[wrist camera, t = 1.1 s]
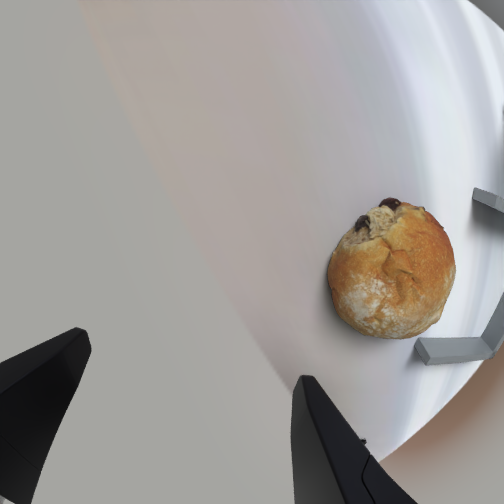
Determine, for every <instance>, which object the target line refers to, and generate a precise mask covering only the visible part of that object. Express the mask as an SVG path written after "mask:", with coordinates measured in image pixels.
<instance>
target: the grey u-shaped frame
mask: <svg viewBox="0 0 504 504" xmlns="http://www.w3.org/2000/svg"><path fill="white" fill-rule="evenodd" d="M472 199H474V200H477V201H479V202H481V203H483V204H485V205H487V206H490V207H492V208H494V209H496V210H498V211H500V212H502V213H504V199H503V198H501V197H499V196H497V195H495V194H492V193H490V192H487V191H484V190H481V189H478V188H474V193H473V197H472ZM503 341H504V293H503V295H502V298H501V300H500V302H499V304H498V306H497V308H496V310H495V312H494V314H493V316H492V318H491V320H490V322H489V324H488V326H487V327H486V329H485V331H484V333H483V334H482V336H481V337H468V338H418V340H417V342H416V343H415V345H414V346H415V348H416V349H417V351H418V353H419V355H420V356H421V358H422V360H423V362H424V364H425V365H440V364H451V363H461V362H469V361H477V360H484V359H491V358H493V357H494V355H495V354H496V352H497V350H498V349H499V347H500V346H501V344H502V343H503Z"/></svg>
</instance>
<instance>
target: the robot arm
mask: <svg viewBox="0 0 504 504" xmlns="http://www.w3.org/2000/svg"><path fill="white" fill-rule="evenodd" d="M90 354H91V344H90V341H89V337H88V333H87V332H86V330H84V329H81V328H77V327H75V328H73V329H71V330H69V331H67V332H65V333H62V334H60V335H58V336H56V337H54V338H52V339H50V340H47V341H45V342H43V343H41V344H39V345H37V346H35V347H33V348H30V349H28V350H26V351H24V352H22V353H20V354H18V355H16V356H14V357H11V358H9V359H7V360H5V361H3V362H1V363H0V504H3V502H4V500H5V498H6V499H8V500H9V501H11V502H13V503H15V504H31V502H32V498H33V495H34V492H35V489H36V486H37V483H38V480H39V477H40V474H41V471H42V468H43V465H44V463H45V460H46V457H47V455H48V452H49V450H50V447H51V445H52V442H53V440H54V437H55V435H56V433H57V430H58V428H59V426H60V424H61V421H62V419H63V417H64V415H65V413H66V410H67V408H68V406H69V404H70V402H71V400H72V398H73V396H74V394H75V392H76V389H77V387H78V385H79V383H80V380H81V377H82V375H83V372H84V369H85V367H86V364H87V362H88V359H89V357H90ZM366 443H367V442H366V440H360V438H359V437H358V436H357V434H356V433H355V432H354V430H353V429H352V428H351V426H350V425H349V424H348V422H347V421H346V420H345V418H344V417H343V416H342V414H341V413H340V412H339V410H338V409H337V408H336V406H335V405H334V403H333V402H332V401H331V399H330V398H329V397H328V395H327V394H326V392H325V391H324V390H323V388H322V387H321V386H320V384H319V383H318V381H317V380H316V379H315V377H314V376H311V375H301V376H300V377H299V379H298V381H297V384H296V386H295V388H294V391H293V398H292V418H291V451H292V464H293V481H294V499H295V504H418V503H417V502H415V501H414V500H413V499H412V498H411V497H410V496H409V495H408V494H407V493H406V492H405V491H404V490H403V489H402V488H401V487H400V486H399V485H398V484H397V483H396V482H395V481H393V479H392V478H391V477H390V476H389V475H388V474H387V473H386V472H385V470H384V469H383V468H382V467H381V466H380V464H379V463H378V462H377V461H376V459H375V458H374V457H373V455H370V452H369V450H368V449H367V448H366V446H365V444H366Z"/></svg>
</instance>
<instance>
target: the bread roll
mask: <svg viewBox="0 0 504 504" xmlns="http://www.w3.org/2000/svg"><path fill="white" fill-rule="evenodd" d="M443 229H444V227H442V226H441V225H440V224H439V222H438V221H437V220H436V219H435V218H434V217H433V216H432V215H431V214H430V213H429V212H427V211H425V208H424V207H416V206H413V205H411V204H409V203H405V202H402V203H401V202H400V201H399V200H398V199H395V198H387V199H384V200H383V201H382V202H381V203H380V205H379V207H375V208H372V209H371V210H370V211H368V212H367V214H366V215H362V216H360V217H359V219H358V220H357V222H356V224H355V226H354V227H353V228H352V229H350V230H349V231H348V232H347V233H346V234H345V235H344V236H343V237H342V239H341V241H340V242H339V244H338V246H337V248H336V250H335V251H334V252H333V253H332V257H331V260H330V263H329V267H328V272H327V275H328V282H329V286H330V288H332V299H333V303H334V307H335V309H336V312H337V314H338V315H339V317H340V318H341V319H343V320H344V321H345V322H347V323H348V324H349V325H350V326H351V327H353V328H354V329H355V330H357V331H359V332H360V333H362V334H363V335H370V336H374V337H379V338H384V339H406V338H411V337H414V336H417V335H419V334H421V333H423V332H424V331H426V330H427V329H428V328H429V327H430V326H431V325H432V324H435V323H436V322H437V321H438V320H439V319H440V317H441V314H442V311H443V308H444V305H445V303H446V301H447V298H448V296H449V294H450V291H451V289H452V286H453V283H454V279H455V273H456V266H455V260H454V254H453V248H452V246H451V243H450V241H449V238H448V236H447V234H446V232H445V231H444V230H443Z"/></svg>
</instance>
